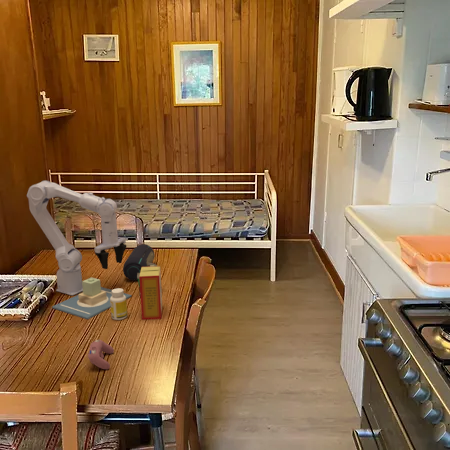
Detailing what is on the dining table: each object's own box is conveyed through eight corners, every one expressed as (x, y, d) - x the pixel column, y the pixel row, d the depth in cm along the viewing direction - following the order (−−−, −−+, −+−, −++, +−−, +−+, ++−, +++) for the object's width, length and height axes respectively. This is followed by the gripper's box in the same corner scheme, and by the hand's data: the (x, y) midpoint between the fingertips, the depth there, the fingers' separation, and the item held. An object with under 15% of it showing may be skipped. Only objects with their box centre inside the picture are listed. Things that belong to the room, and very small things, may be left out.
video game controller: (102, 357, 140) (89, 338, 138) (115, 350, 140) (103, 331, 138) (96, 376, 130) (82, 356, 128) (111, 368, 130) (97, 349, 128)
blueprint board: (52, 308, 169) (51, 298, 168) (97, 287, 187) (96, 278, 187) (87, 319, 160) (86, 309, 159) (131, 296, 178) (131, 287, 177)
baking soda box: (161, 318, 160) (159, 274, 156) (141, 319, 160) (139, 275, 156) (162, 306, 169) (160, 265, 165) (144, 307, 169) (141, 265, 165)
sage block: (83, 294, 172) (81, 279, 171) (92, 289, 176) (91, 275, 174) (92, 296, 170) (90, 282, 168) (101, 292, 174) (100, 278, 172)
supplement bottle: (130, 314, 164) (128, 288, 161) (122, 321, 159) (120, 294, 156) (116, 312, 165) (114, 286, 163) (108, 319, 160) (106, 292, 158)
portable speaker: (146, 283, 191) (144, 260, 189) (121, 283, 192) (120, 260, 189) (156, 262, 216) (155, 241, 213) (135, 262, 216) (133, 241, 213)
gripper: (103, 238, 170) (106, 273, 174) (130, 228, 182) (132, 261, 185) (89, 235, 174) (92, 269, 177) (117, 226, 185) (119, 258, 189)
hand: (112, 265), depth 182 cm, fingers open, 7 cm apart
